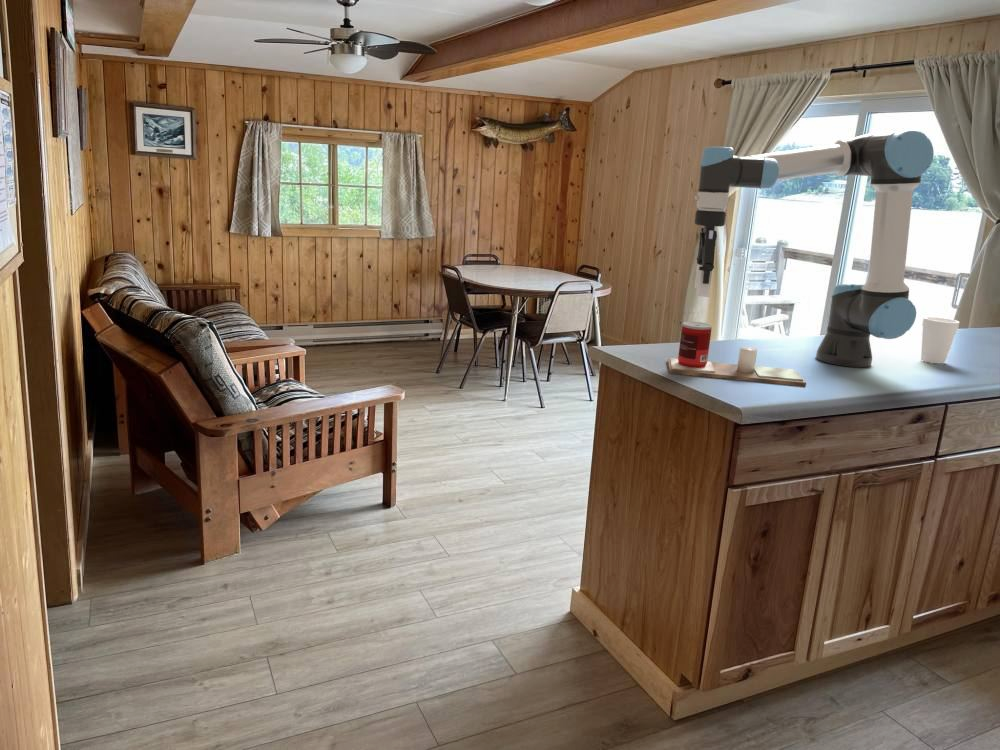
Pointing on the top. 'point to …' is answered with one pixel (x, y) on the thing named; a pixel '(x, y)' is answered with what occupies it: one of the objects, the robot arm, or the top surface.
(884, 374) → the top surface
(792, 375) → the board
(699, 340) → the canned food
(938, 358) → the foam cup
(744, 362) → the ceramic post
